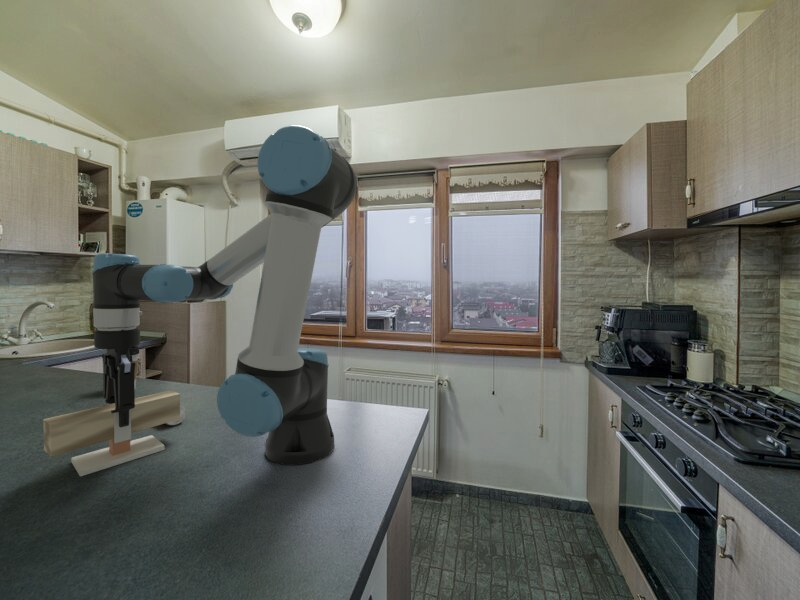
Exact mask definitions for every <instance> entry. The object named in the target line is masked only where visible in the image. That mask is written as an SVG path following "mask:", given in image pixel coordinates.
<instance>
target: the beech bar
mask: <svg viewBox="0 0 800 600" xmlns="http://www.w3.org/2000/svg"><path fill="white" fill-rule="evenodd" d="M107 404H108V405H107ZM107 404H105V405H100V406H96V407H91V408H87V409H82V410H78V411H74V412H69V413H65V414H61V415H55V416H51V417H48V418H44V419H43V421H42V422H43V423H42V424H43V427H42V428H43V450H44V452H45V453H46V454H47V455H49V456H50V457H51V458H53V457H56V456H60V455H63V454H67V453H70V452H74V451H76V450H77V451H78V450H81V449H83V448H87V447H90V446H93V445H97V444H100V443H103V442H107V441H109V440H111V439H114V413H111V410H115V403H112V404H109V403H107ZM180 405H181V394H180V393H179V392H176V391H174V390H165V391H161V392H157V393H153V394H148V395H145V396H139V397H135V408H133V409H131V434H133V433H137V432H139V431H140V432H141V431H143V430H147V429H151V428H153V427H158V426H161V425H163V424H165V423H168V422H171V421H174V420H178V419H180Z"/></svg>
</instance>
